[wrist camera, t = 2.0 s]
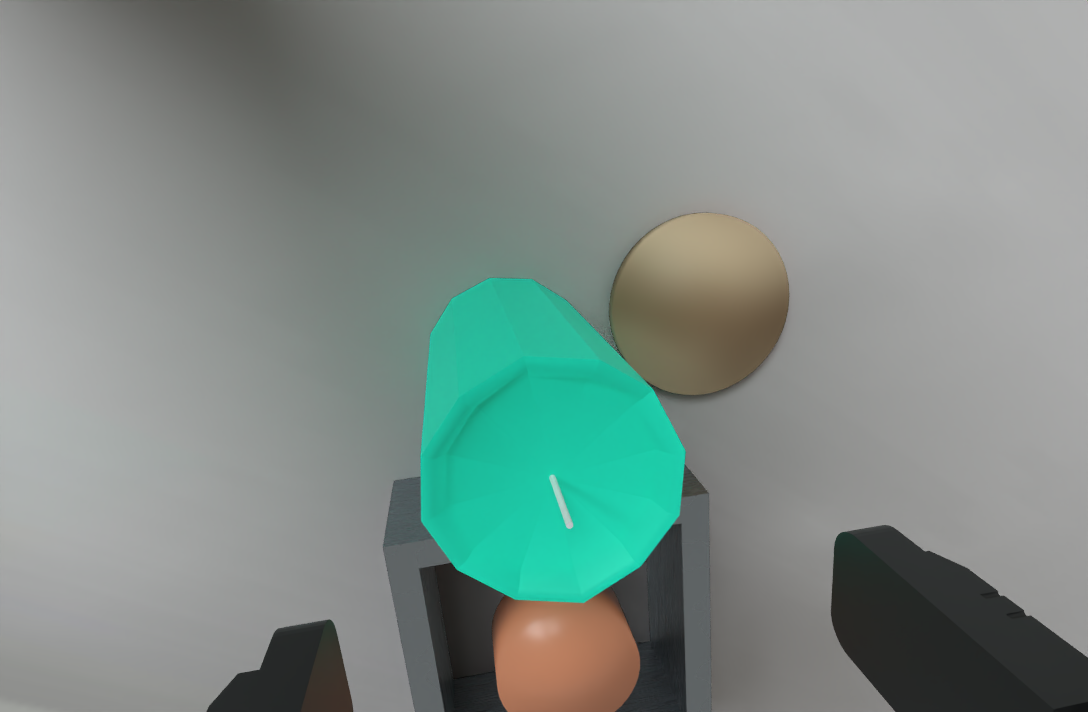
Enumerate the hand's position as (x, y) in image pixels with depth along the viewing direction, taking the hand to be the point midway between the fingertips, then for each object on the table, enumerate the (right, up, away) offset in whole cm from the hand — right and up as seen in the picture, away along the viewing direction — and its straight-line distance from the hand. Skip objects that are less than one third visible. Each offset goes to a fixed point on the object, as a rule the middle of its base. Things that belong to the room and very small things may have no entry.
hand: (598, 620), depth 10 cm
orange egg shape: (0, -6, +14) cm, 15 cm away
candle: (-2, +4, +14) cm, 15 cm away
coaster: (+5, +6, +14) cm, 16 cm away
